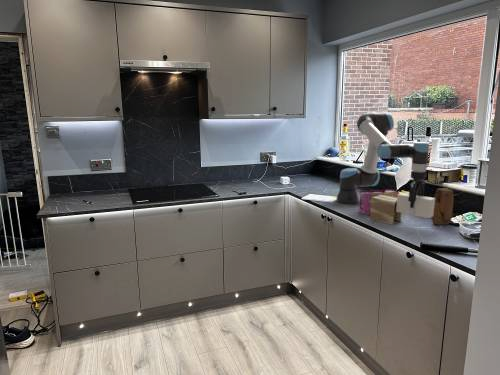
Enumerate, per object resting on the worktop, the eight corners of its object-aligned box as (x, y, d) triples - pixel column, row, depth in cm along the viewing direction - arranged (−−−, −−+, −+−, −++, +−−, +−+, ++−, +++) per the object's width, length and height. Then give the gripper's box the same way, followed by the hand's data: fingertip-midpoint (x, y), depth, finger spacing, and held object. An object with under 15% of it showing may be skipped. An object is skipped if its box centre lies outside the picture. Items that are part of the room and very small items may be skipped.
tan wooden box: (379, 215, 229) (380, 194, 226) (401, 220, 219) (402, 198, 216) (370, 219, 222) (371, 197, 219) (392, 224, 212) (394, 201, 209)
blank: (400, 209, 215) (401, 192, 213) (433, 215, 203) (435, 198, 201) (396, 211, 211) (397, 194, 209) (429, 218, 199) (431, 200, 197)
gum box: (362, 214, 232) (363, 193, 229) (356, 211, 239) (357, 190, 237) (397, 212, 236) (399, 191, 233) (390, 209, 243) (392, 189, 241)
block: (440, 220, 219) (443, 187, 215) (452, 223, 212) (456, 189, 208) (428, 223, 214) (431, 188, 209) (440, 226, 207) (444, 191, 203)
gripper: (417, 174, 193) (413, 217, 198) (433, 169, 205) (429, 210, 210) (403, 172, 198) (400, 214, 203) (419, 168, 211) (415, 207, 216)
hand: (414, 211), depth 207 cm, fingers closed on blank, 6 cm apart
